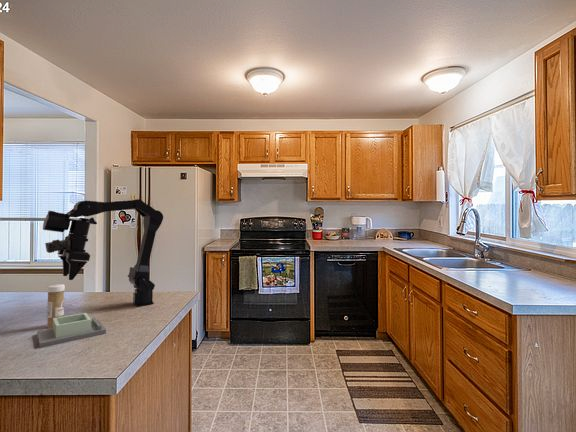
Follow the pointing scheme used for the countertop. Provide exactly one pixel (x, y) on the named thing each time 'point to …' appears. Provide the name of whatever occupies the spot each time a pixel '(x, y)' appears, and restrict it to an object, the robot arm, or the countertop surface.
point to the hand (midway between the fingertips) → (67, 277)
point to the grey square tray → (70, 329)
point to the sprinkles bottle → (55, 302)
